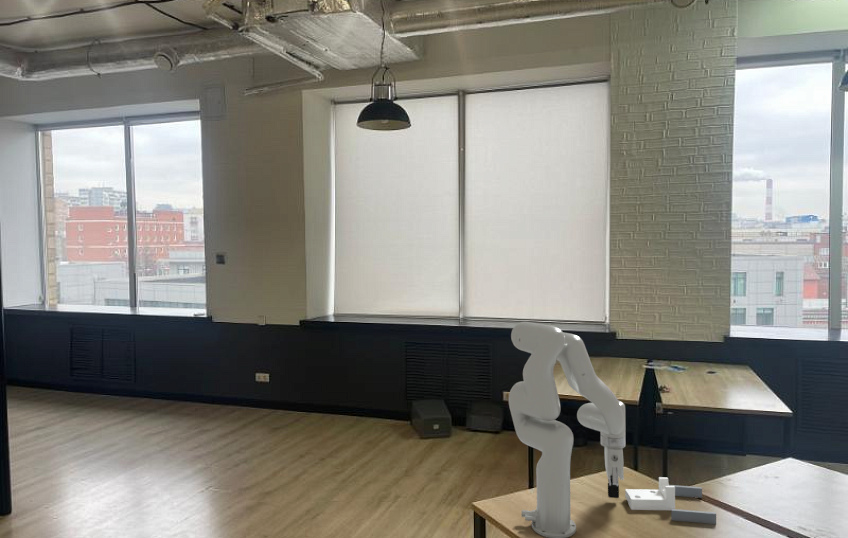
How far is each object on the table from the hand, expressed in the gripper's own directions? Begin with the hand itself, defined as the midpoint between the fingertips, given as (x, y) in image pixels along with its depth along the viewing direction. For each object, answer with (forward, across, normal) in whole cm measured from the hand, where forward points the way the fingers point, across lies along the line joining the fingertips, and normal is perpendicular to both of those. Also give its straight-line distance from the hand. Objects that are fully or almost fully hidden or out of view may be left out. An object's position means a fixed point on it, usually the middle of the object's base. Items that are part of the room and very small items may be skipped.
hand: (613, 496), depth 181 cm
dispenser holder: (+2, 0, -23) cm, 23 cm away
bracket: (+2, 0, -11) cm, 11 cm away
